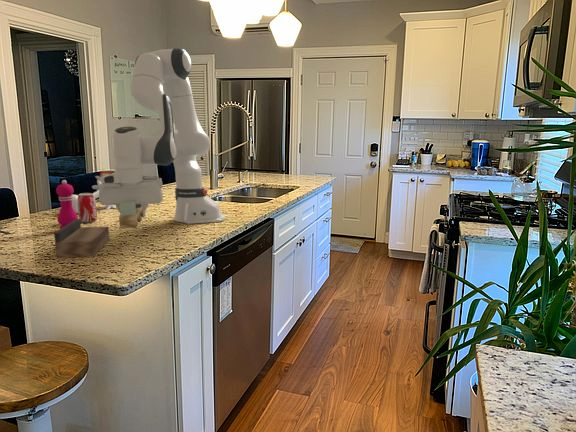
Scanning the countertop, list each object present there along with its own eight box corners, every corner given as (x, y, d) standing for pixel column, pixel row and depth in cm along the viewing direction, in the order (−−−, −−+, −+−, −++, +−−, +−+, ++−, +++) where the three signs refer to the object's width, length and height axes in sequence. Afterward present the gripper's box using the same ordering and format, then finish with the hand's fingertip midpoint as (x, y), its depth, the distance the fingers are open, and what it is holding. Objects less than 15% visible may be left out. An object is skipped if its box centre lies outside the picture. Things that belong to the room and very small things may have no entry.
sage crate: (136, 212, 144) (135, 200, 143) (133, 215, 140) (132, 203, 140) (123, 213, 144) (122, 201, 143) (120, 215, 140) (119, 203, 139)
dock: (109, 239, 159) (107, 218, 157) (93, 256, 140) (91, 232, 138) (77, 240, 158) (75, 219, 156) (56, 257, 138) (54, 233, 137)
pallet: (145, 215, 158) (144, 204, 157) (136, 227, 141) (135, 215, 140) (131, 216, 158) (130, 205, 157) (119, 228, 140) (118, 216, 139)
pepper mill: (58, 233, 168) (53, 181, 164) (58, 229, 174) (53, 179, 170) (79, 231, 171) (74, 180, 167) (78, 227, 178) (74, 178, 173)
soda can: (90, 223, 184) (88, 195, 181) (75, 222, 185) (73, 194, 183) (100, 220, 191) (98, 193, 188) (86, 219, 192) (83, 192, 189)
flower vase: (81, 229, 202) (126, 207, 220) (72, 194, 192) (119, 174, 210) (65, 221, 208) (109, 200, 226) (55, 186, 199) (102, 167, 216)
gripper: (163, 174, 150) (165, 213, 153) (100, 175, 147) (104, 215, 150) (160, 177, 144) (163, 217, 147) (95, 178, 141) (99, 220, 144)
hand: (133, 216), depth 149 cm, fingers closed on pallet, 5 cm apart
